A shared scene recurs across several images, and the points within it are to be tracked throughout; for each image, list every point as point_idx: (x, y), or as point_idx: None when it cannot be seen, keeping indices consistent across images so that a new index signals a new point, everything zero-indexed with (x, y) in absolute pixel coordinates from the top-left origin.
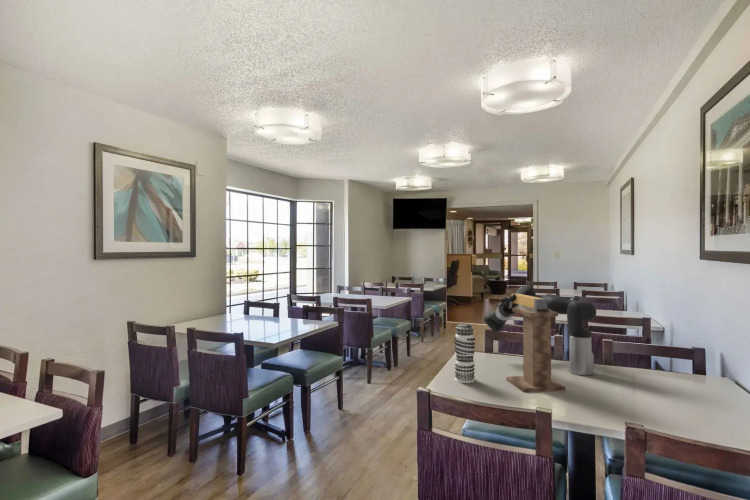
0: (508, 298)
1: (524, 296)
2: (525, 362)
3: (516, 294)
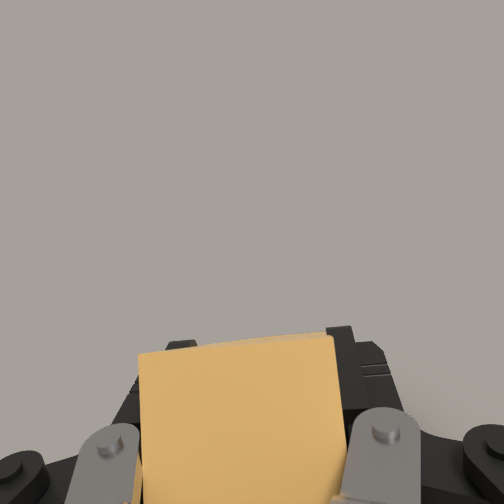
0: (436, 437)
1: (316, 333)
2: None
3: (290, 338)
